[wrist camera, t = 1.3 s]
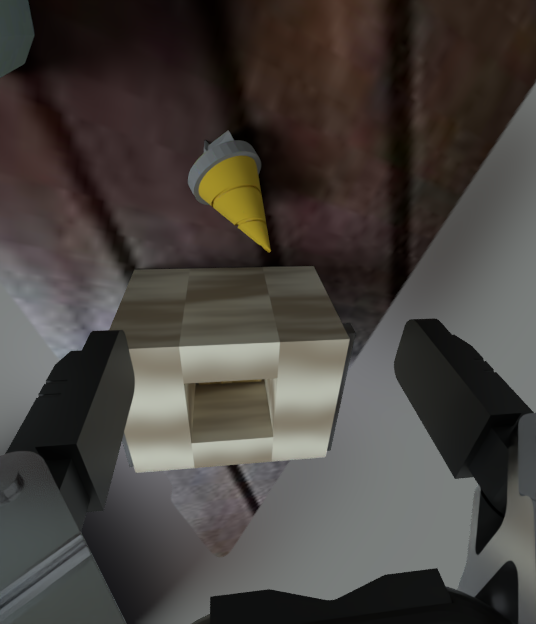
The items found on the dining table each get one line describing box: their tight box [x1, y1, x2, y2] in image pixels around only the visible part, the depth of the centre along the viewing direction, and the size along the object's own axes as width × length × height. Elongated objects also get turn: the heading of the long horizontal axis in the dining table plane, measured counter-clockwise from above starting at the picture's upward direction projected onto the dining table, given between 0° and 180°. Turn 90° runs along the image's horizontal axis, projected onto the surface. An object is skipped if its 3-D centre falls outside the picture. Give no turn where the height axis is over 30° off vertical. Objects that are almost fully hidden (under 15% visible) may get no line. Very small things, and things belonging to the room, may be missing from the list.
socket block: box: [109, 266, 356, 473], centre depth 31 cm, size 13×17×11 cm
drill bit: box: [188, 131, 270, 252], centre depth 25 cm, size 5×5×10 cm
